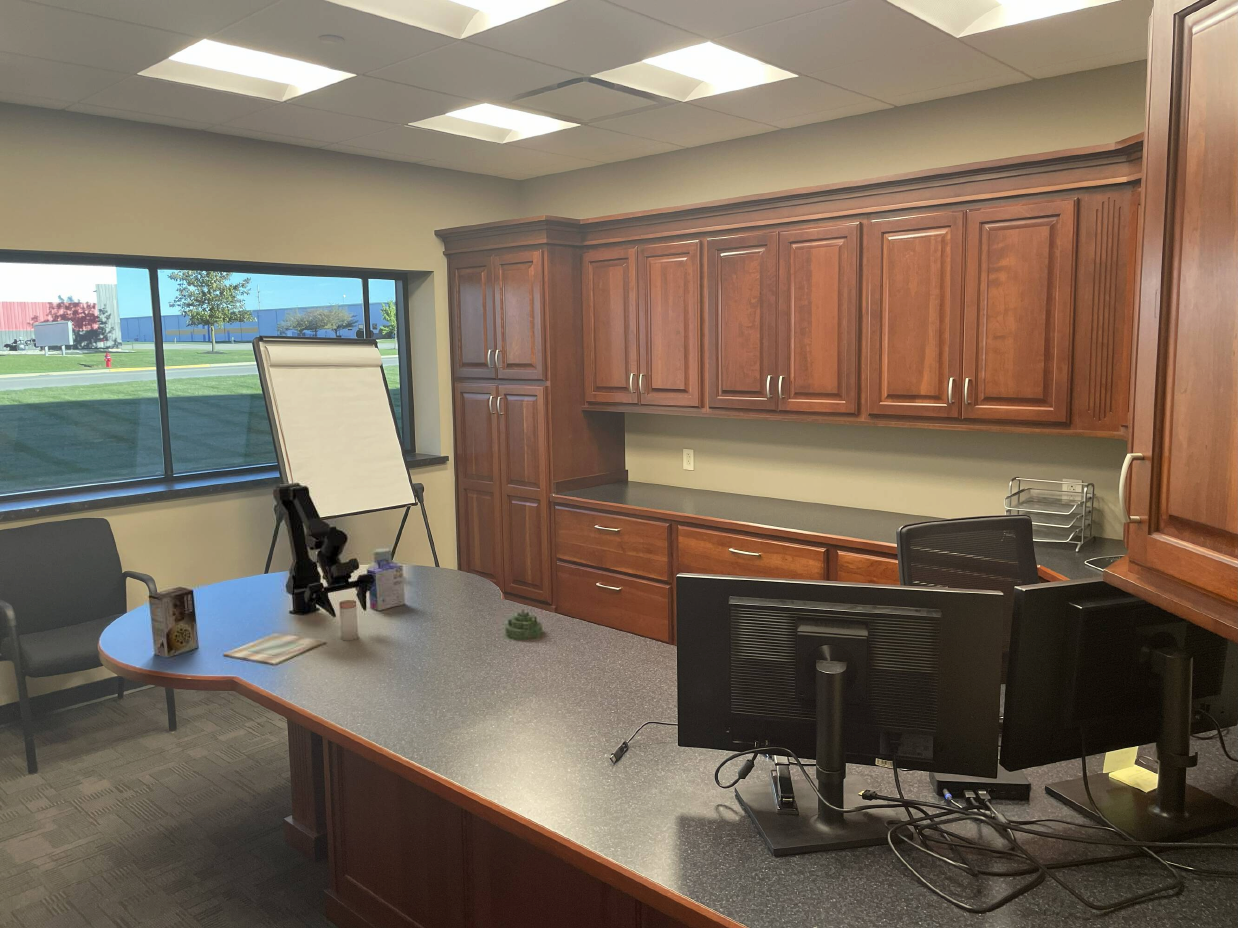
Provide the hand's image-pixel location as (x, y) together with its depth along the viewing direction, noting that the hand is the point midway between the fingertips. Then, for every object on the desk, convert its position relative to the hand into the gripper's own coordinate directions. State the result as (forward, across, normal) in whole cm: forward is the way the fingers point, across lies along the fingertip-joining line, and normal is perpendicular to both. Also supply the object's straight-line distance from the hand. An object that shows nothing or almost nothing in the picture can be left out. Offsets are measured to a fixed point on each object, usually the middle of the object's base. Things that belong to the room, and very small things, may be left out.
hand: (350, 613), depth 244 cm
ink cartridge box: (-10, +21, +21) cm, 32 cm away
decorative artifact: (+26, +37, -15) cm, 47 cm away
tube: (+4, 0, +6) cm, 7 cm away
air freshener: (-33, +35, +44) cm, 65 cm away
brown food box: (-11, -39, +22) cm, 46 cm away
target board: (+1, -19, +9) cm, 21 cm away
